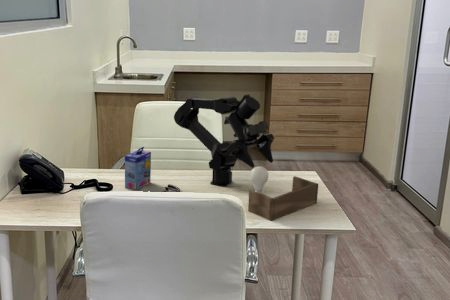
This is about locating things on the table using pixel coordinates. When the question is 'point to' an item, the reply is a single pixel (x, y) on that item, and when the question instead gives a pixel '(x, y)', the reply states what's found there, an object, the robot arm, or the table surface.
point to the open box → (284, 200)
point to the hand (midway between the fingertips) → (263, 164)
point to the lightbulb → (259, 178)
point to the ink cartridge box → (137, 169)
